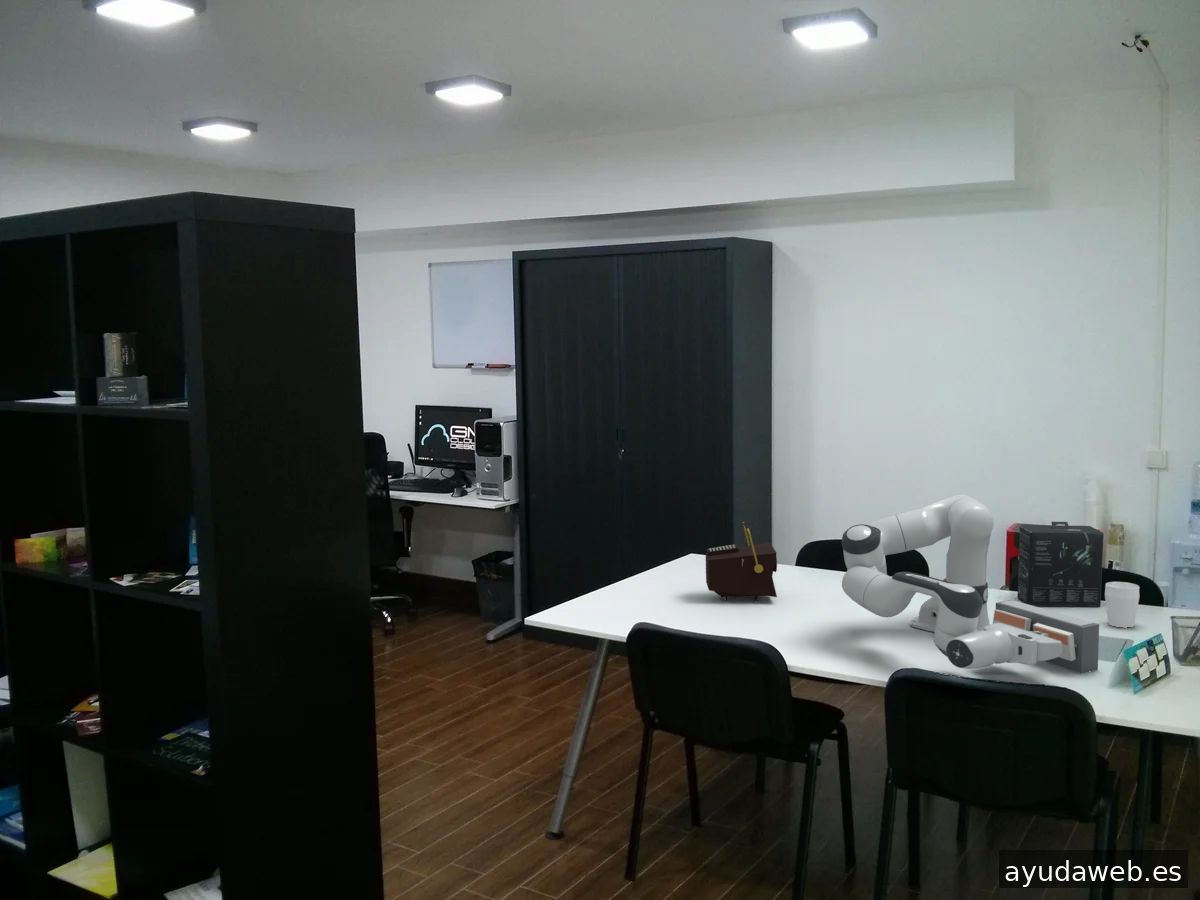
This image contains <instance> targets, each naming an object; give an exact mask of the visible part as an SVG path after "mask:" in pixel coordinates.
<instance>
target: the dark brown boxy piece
mask: <svg viewBox="0 0 1200 900" xmlns="http://www.w3.org/2000/svg"><path fill="white" fill-rule="evenodd" d="M742 525H743V530H744V535H745V537H746V541H747V546H741V547H739V546H738V544H737V543H734V544H729V545H723V546H721V545H720V546H717V547H710V548H706V552H705V582H706V583H705V584H706V587H707V588H708V591H710V592H714V593H715V594H717V595H718V596H719V597H720V598H724V600H725V602H728V598H754V602H758V598H762V597H770V598H771V597H772V598H773V597H774V598H778V597H777V591H776V587H775V583H774V578H773V574H774V573H777V571H778V570H777V569H778V559H777V550H775V548H774V546H773V545H772V544H771V543H770V542H766V543H759V544H755V545H754V542H753V538H752V535H751V532H750V528H749V526H748V525H747V523H746V522H745V521H742ZM749 540H750V541H749Z"/></svg>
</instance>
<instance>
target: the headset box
mask: <svg viewBox="0 0 1200 900" xmlns="http://www.w3.org/2000/svg"><path fill="white" fill-rule="evenodd" d="M1018 539H1019V543H1018V567H1017V569H1018V572H1017V599H1018V600H1019V601H1020V602H1021V603H1025V604H1028V605H1032V606H1035V607H1075V606H1078V607H1081V608H1083V607H1084V608H1101V603H1102V600H1101V599H1102V578H1103V577H1102V576H1103V557H1104V556H1103V555H1104V554H1103V553H1104V532H1103V531H1101V530H1099V529H1096V528H1094V527H1093V526H1091V525H1069V523H1068V521H1051V525H1050V524H1049V525H1046V524H1036V525H1035V524H1027V525H1026V524H1020V526H1019V536H1018Z"/></svg>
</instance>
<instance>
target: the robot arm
mask: <svg viewBox="0 0 1200 900" xmlns="http://www.w3.org/2000/svg"><path fill="white" fill-rule="evenodd" d="M994 525H995V523H994V518H993V515H992V512H991V510H990V509H989V508H988V506H986V505H985V504H984V503H982V502H981V501H979V500H977V499H976V498H974V497H972V496H970V495H966V494H955V495H952V496H949V497H948V498H945V499H942V500H939V501H936V502H933V503H931V504H929V505H927V506H924V507H920V508H918V509H913V510H909V511H905V512H901V513H898V514H897V513H896V514H893V515H890V516H886V517H883V518H880V519H878V520H875V521H873V522H871V523H868V524H864V523H863V524H855V525H852V526H850V527H849V528H847V529H846V530H845V531H844V532H843V534H842V538H841V546H842V549H843V558H844V563H845V566H846V568H847V571H846V572H845V573H844V574H843V576H842V580H841V588H842V591H843V592H844V593H845V595H846V596H848V598H849V599H851V601H853V602H854V603H856V604H857V605H858V606H860V607H862V608H863V609H865V610H867V611H869V612H870V613H873V614H874V615H876V616H879V617H881V618H892V617H895V616H897V615H899V614H901V613H902V612H903V611H905V609H907V608H908V606H909V605H910V603H911V601H912V599H913V598H914V596H915V595H916V594H917V593H919V594H923V595H925V596H929V597H930V598H928V599H927V600H925V601H924V602H923V603H922V604H921V605H920V608H919V612H918V615H917V616H916V617H914V618H912V620H911V621H910V627H913V628H916V629H918V630H919V629H921V630H924V631H928V632H933V633H934V634H933V644H934V645H935V647H936V648H937V649H938V650H939V652H941V654H943V655H944V656H945V657H946V658H947V659H948V660H949V662H950V663H951V664H952V665H953V666H954V667H956V668H959V669H964V670H966V669H968V670H970V669H971V670H974V669H975V670H976V669H981V668H986V667H990V666H993V665H995V664H999V665H1001V664H1004V663H1008V664H1013V663H1015V664H1022V665H1028V666H1032V665H1036V664H1037V662H1045V661H1046V660H1050V659H1054V658H1057V657H1060V656H1061V654H1062V642H1061V641H1059V640H1055V639H1052V638H1049V637H1048V634H1046V633H1043V632H1040V631H1035V632H1032V631H1026V630H1023V629H1019V628H1016V627H1013V626H1009V625H1006V624H1003V623H995V624H993V623H991V624H990V618H989V613H988V603H987V602H988V599H989V589H988V588H989V586H988V582H987V560H988V557H987V556H988V553H989V551H988V550H989V546H990V540H991V534H992V531H993V529H994ZM949 537H950V538H949ZM946 538H947V539H948V538H949V543H948V548H947V549H948V550H947V552H946V555H945V556H946V558H945V559H946V560H945V561H946V562H945V564H946V566H945V567H946V568H945V570H946V571H945V573H946V574H945V576H946V577H945V578H943V580H942V579H939V578H935V577H933V576H932V577H931V576H927V575H924V574H920V573H916V572H910V571H899V572H895V573H894V574H893V575H892V576H890V575H889V574H888V572H887V563H886V556H888V555H889V556H890V555H895V554H899V553H905V552H909V551H912V550H918V549H922V548H925V547H931V546H933V545H936V543H937V542H940V541H942V540H944V539H946Z"/></svg>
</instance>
